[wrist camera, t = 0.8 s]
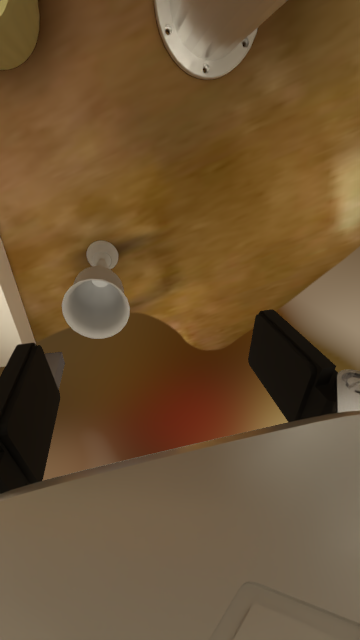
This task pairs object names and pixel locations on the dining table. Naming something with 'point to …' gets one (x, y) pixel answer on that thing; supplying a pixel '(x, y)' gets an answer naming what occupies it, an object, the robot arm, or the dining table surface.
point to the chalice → (97, 296)
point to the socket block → (11, 313)
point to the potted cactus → (17, 31)
